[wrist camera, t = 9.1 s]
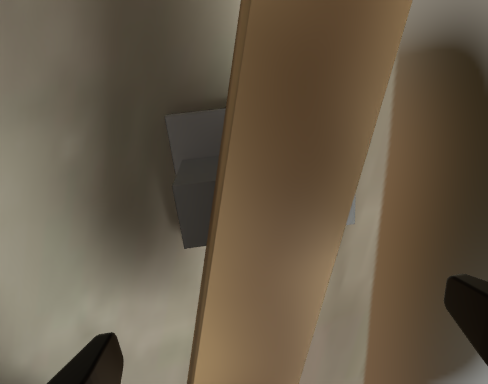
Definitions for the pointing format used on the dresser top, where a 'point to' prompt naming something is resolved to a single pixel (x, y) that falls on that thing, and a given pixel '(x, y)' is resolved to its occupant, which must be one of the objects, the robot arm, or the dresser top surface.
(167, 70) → the dresser top surface
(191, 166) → the grey stepped block
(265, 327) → the plank
